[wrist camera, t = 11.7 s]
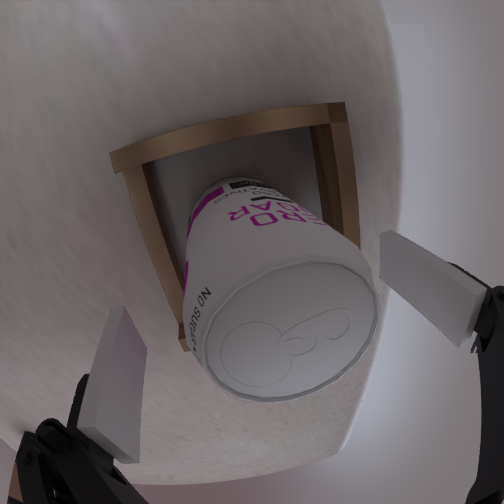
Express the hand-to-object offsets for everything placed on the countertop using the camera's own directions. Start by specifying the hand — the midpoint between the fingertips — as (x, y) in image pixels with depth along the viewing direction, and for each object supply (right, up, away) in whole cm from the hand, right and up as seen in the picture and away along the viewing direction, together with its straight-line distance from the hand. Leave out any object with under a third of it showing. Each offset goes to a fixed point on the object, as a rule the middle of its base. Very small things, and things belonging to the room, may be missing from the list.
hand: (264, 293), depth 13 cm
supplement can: (-2, +4, +10) cm, 12 cm away
